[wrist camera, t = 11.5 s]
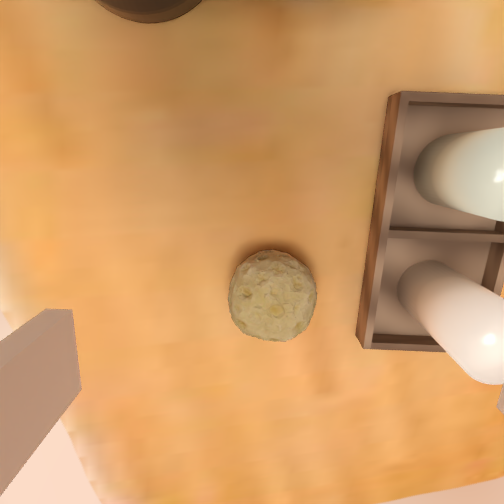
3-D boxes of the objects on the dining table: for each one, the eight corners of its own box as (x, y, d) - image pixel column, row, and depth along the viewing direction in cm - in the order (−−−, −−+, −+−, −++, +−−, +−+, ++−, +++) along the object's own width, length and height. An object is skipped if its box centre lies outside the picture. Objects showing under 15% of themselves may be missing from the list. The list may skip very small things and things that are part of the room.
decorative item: (309, 280, 42) (346, 255, 32) (287, 357, 38) (322, 354, 29) (239, 251, 41) (257, 218, 32) (209, 327, 37) (220, 314, 28)
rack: (388, 97, 32) (401, 91, 29) (526, 102, 32) (552, 96, 29) (355, 334, 39) (363, 348, 36) (468, 339, 39) (484, 353, 36)
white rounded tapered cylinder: (401, 259, 36) (469, 308, 24) (461, 261, 36) (558, 311, 24) (392, 313, 37) (451, 382, 26) (449, 315, 37) (534, 386, 26)
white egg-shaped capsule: (420, 132, 32) (480, 122, 24) (492, 135, 32) (579, 126, 24) (408, 204, 34) (459, 219, 25) (476, 206, 34) (551, 223, 25)
